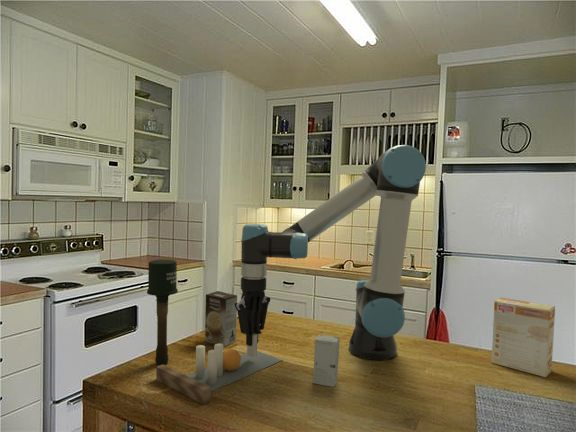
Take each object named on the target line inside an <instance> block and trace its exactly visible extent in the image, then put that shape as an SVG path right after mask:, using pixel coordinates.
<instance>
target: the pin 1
mask: <svg viewBox="0 0 576 432" xmlns="http://www.w3.org/2000/svg"><path fill="white" fill-rule="evenodd" d="M205 364H206V346H205V345H202V344H200V345H196V346H195V372H196V378H197V379H202V378H204V377H205V368H206V367H205V366H206V365H205Z"/></svg>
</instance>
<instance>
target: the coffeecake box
mask: <svg viewBox="0 0 576 432" xmlns="http://www.w3.org/2000/svg"><path fill="white" fill-rule="evenodd" d="M555 314H556V305H555V306H554V305H549V304H542V303H538V302H537V303H536V302H531V301H525V300H519V299H513V298H508V297H507V298H506V297H500V298H498V299H495V300H494V303H493V323H492V324H493V325H492V346H491V364H495V365H499V366H502V367H506V368H510V369H514V370H517V371H521V372H525V373H528V374H532V375H536V376H539V377H543V378H547V377H548V376H549V375H550V374H551V372H552V370H553V369H552V367H553V355H554V354H553V352H554V333H555V321H556V320H555V316H556V315H555Z"/></svg>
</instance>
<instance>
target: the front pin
mask: <svg viewBox="0 0 576 432" xmlns="http://www.w3.org/2000/svg"><path fill="white" fill-rule="evenodd" d="M213 350H216V351H217V377H219V376H222V375H223V352H224V346H223V344H214V349H213Z"/></svg>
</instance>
